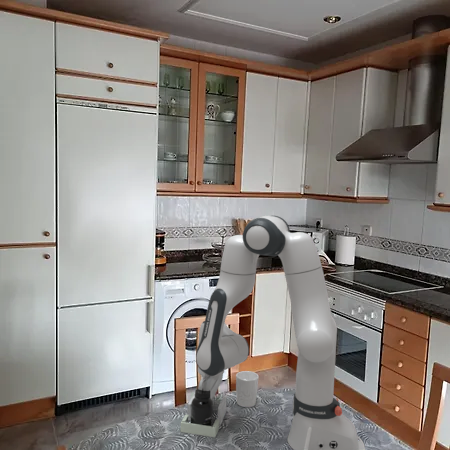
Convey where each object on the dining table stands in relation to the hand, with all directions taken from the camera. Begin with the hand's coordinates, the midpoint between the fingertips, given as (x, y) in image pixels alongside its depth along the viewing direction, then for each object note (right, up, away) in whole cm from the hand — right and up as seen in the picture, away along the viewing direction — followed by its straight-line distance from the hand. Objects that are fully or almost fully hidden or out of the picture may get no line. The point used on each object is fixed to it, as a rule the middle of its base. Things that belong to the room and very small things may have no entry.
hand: (210, 406), depth 145 cm
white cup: (+13, -2, +8) cm, 15 cm away
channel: (-1, -2, -3) cm, 3 cm away
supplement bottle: (-2, -3, -10) cm, 10 cm away
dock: (-3, -3, -11) cm, 11 cm away
